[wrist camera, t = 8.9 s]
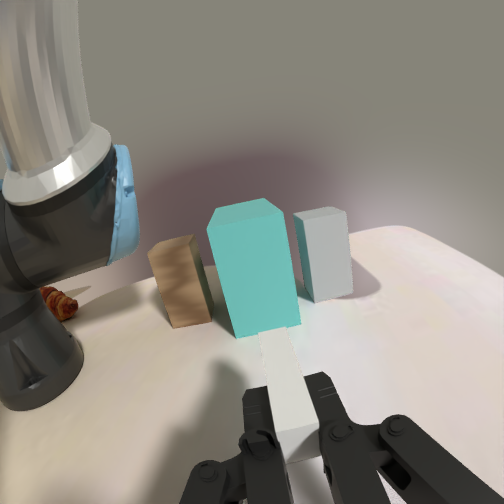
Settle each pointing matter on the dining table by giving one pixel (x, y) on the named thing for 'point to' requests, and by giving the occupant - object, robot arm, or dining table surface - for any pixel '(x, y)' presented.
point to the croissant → (59, 303)
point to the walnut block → (182, 281)
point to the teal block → (254, 266)
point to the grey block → (324, 252)
